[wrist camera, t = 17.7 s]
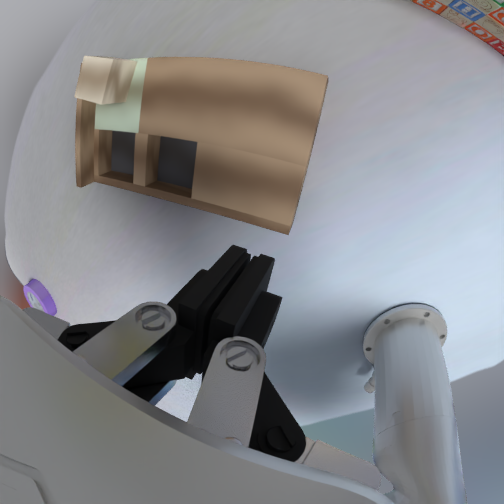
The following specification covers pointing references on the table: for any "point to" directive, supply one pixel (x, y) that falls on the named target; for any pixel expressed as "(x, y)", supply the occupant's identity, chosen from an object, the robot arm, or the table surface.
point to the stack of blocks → (473, 17)
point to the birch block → (105, 79)
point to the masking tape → (39, 297)
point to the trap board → (207, 136)
